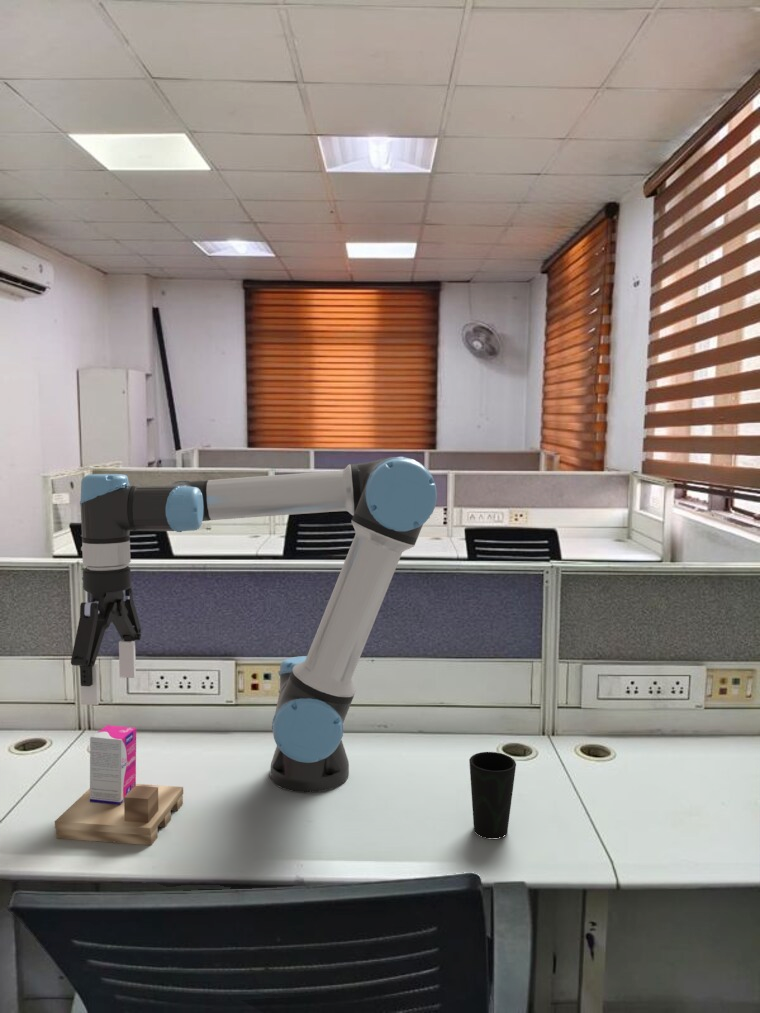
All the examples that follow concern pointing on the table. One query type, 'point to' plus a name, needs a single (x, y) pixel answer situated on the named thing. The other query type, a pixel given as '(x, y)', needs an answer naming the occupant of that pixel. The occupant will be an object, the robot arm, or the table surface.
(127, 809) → the brown wooden cube
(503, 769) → the cup
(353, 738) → the table surface
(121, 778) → the supplement box
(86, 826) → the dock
